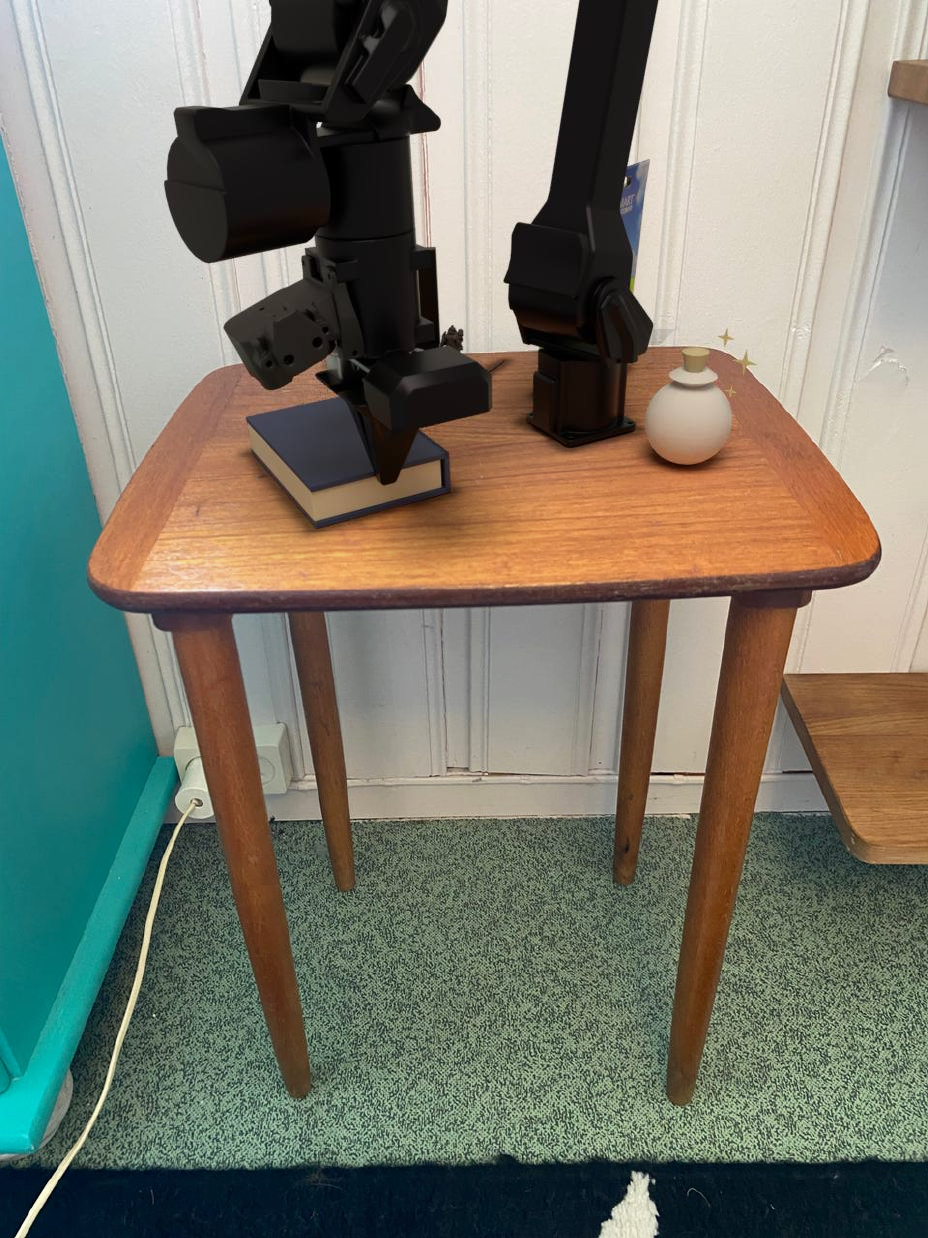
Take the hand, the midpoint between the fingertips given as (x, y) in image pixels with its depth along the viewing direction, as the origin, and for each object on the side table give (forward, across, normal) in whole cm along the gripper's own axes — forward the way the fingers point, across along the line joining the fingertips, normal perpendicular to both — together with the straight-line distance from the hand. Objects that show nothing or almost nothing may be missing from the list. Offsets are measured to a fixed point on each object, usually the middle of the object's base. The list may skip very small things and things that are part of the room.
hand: (387, 482), depth 60 cm
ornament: (+2, +5, +22) cm, 23 cm away
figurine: (+2, -22, +17) cm, 28 cm away
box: (+2, -14, +25) cm, 28 cm away
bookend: (+2, -30, +13) cm, 33 cm away
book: (+2, -8, 0) cm, 8 cm away
